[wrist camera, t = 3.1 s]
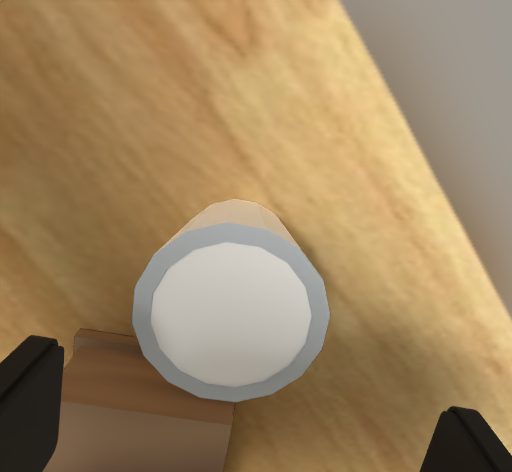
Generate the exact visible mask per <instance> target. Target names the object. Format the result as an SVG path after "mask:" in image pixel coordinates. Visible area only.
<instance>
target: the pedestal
mask: <svg viewBox="0 0 512 472" xmlns="http://www.w3.org/2000/svg"><path fill="white" fill-rule="evenodd" d="M235 404H236V402H231V401H223V400H215V399H207V398H200V397H198V396H196V395H194V394H192V393H190V392H188V391H186V390H184V389H182V388H180V387H178V386H176V385H174V384H172V383H170V382H168V381H167V380H166V379H165V378H164V377H163V376H162V375H161V374H160V373H159V372H158V370H157V369H156V368H155V367H154V366H153V365H152V364H151V363H150V362H149V361H148V360H147V359H146V357H145V356H144V355H143V352H142V350H141V347H140V344H139V341H138V338H137V337H131V336H125V335H119V334H112V333H106V332H99V331H93V330H86V329H80V330H79V331H78V332H77V334H76V335H75V336H74V349H73V357H72V359H71V360H70V362H69V363H68V364H67V366H66V367H65V368H64V370H63V378H62V392H61V406H60V420H59V434H58V442H57V446H56V449H55V451H54V453H53V455H52V457H51V459H50V460H49V462H48V464H47V465H46V467H45V468H44V470H43V472H223V468H224V463H225V458H226V453H227V449H228V444H229V439H230V434H231V429H232V421H233V414H234V409H235Z"/></svg>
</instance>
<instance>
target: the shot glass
mask: <svg viewBox="0 0 512 472" xmlns="http://www.w3.org/2000/svg"><path fill="white" fill-rule="evenodd" d="M329 318H330V311H329V306H328V301H327V296H326V291H325V286H324V281H323V279H322V277H321V276H320V275H319V273H318V272H317V270H316V269H315V268H314V266H313V265H312V264H311V262H310V261H309V259H308V258H307V257H306V255H305V254H304V253H303V251H302V250H301V248H300V247H299V246H298V244H297V243H296V242H295V240H294V239H293V237H292V236H291V235H290V233H289V232H288V231H287V229H286V228H285V226H284V225H283V224H282V222H281V221H280V220H279V218H278V217H277V215H276V214H275V213H273V212H272V211H270V210H268V209H267V208H265V207H263V206H262V205H260V204H258V203H257V202H252V201H245V200H239V199H231V200H226V201H222V202H218V203H214V204H211V205H210V206H208V207H207V208H206V209H204V210H203V211H201V212H200V213H199V214H197V215H196V216H195V217H193V218H192V219H191V220H190V221H189V222H188V223H187V224H186V225H185V226H184V227H183V228H182V229H181V230H179V231H178V232H177V233H176V234H175V235H174V236H173V237H172V238H171V239H170V240H169V241H168V242H167V243H166V244H165V245H163V246H162V247H161V248H160V249H159V250H158V251H157V252H156V253H155V254H154V255H153V257H152V258H151V260H150V262H149V263H148V265H147V267H146V269H145V270H144V272H143V274H142V276H141V277H140V279H139V281H138V282H137V284H136V286H135V291H134V302H133V314H132V325H133V327H134V330H135V333H136V336H137V338H138V341H139V344H140V347H141V350H142V352H143V355H144V356H145V357H146V359H147V360H148V361H149V362H150V363H151V364H152V365H153V366H154V367H155V368H156V369H157V370H158V372H159V373H160V374H161V375H162V376H163V377H164V378H165V379H166V380H167V381H168V382H170V383H172V384H174V385H176V386H178V387H180V388H182V389H184V390H186V391H188V392H190V393H192V394H194V395H196V396H198V397H200V398H207V399H215V400H223V401H231V402H239V401H244V400H249V399H253V398H258V397H263V396H268V395H272V394H273V393H275V392H277V391H278V390H280V389H281V388H283V387H285V386H286V385H288V384H290V383H291V382H293V381H294V380H296V379H298V378H299V377H301V376H302V375H303V373H304V372H305V371H306V369H307V368H308V367H309V365H310V364H311V363H312V361H313V360H314V359H315V357H316V356H317V355H318V353H319V352H320V351H321V349H322V348H323V343H324V339H325V335H326V331H327V326H328V322H329Z"/></svg>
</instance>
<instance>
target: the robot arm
mask: <svg viewBox="0 0 512 472" xmlns="http://www.w3.org/2000/svg"><path fill="white" fill-rule="evenodd" d="M63 364H64V348H63V347H62V346H58V342H57V340H56V339H52V338H46V337H41V336H35V335H31V336H29V337H28V338H27V339H26V340H25V341H23V342H22V343H21V344H20V345H19V346H18V347H17V348H16V349H15V350H14V351H13V352H12V353H11V354H10V355H9V356H7V357H6V358H5V359H4V360H3V361H2V362H1V363H0V472H43V470H44V468H45V467H46V465H47V464H48V462H49V460H50V459H51V457H52V455H53V453H54V451H55V449H56V446H57V442H58V434H59V420H60V406H61V392H62V378H63ZM420 472H512V456H511V454H510V453H509V452H508V450H507V449H506V448H505V446H504V445H503V444H502V442H501V441H500V440H499V438H498V437H497V436H496V434H495V433H494V432H493V430H492V429H491V428H490V426H489V425H488V424H487V422H486V421H485V420H484V418H483V417H482V416H481V414H480V413H479V412H478V411H476V410H473V409H467V408H461V407H455V406H452V407H450V408H449V409H448V410H447V411H443V412H442V413H441V415H440V417H439V420H438V423H437V426H436V428H435V431H434V434H433V437H432V439H431V442H430V445H429V447H428V450H427V453H426V456H425V458H424V461H423V464H422V467H421V469H420Z"/></svg>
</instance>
